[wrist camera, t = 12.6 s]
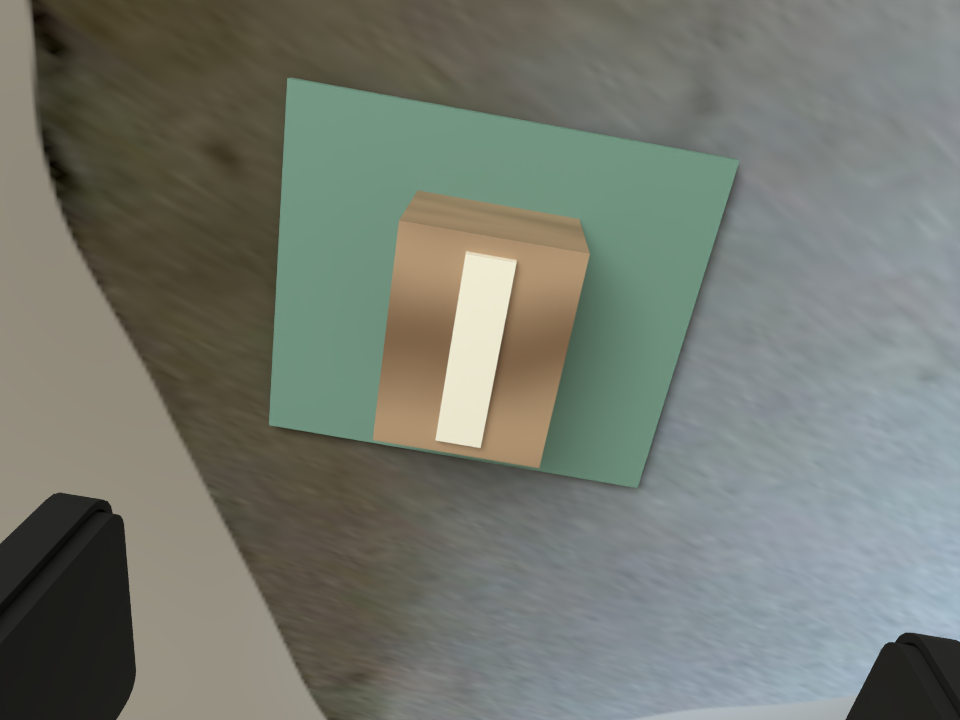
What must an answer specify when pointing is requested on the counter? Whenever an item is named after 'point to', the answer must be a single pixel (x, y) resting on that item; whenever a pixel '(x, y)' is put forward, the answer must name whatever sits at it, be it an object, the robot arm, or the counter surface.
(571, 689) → the counter surface
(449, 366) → the cardboard box
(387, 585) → the counter surface
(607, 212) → the play mat
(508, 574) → the counter surface
